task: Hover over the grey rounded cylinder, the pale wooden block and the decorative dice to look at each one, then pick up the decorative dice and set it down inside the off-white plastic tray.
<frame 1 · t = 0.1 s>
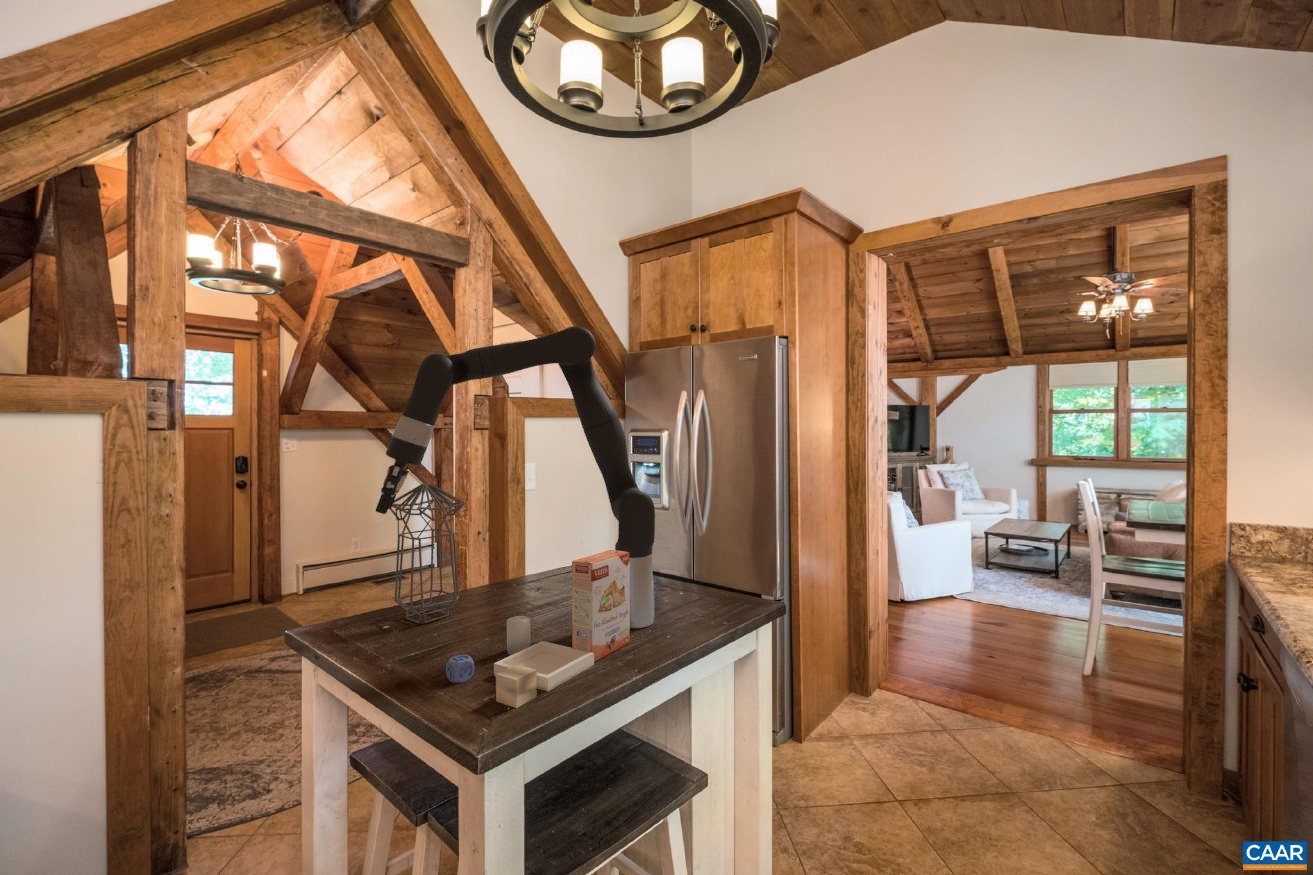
hand: (383, 510, 127), 31 cm above the table, tool tilted 20°, fingers open, 8 cm apart
grey rounded cylinder: (518, 651, 128), on the table
tray: (545, 670, 118), on the table
wooden block: (516, 699, 105), on the table
decorative dice: (460, 679, 114), on the table
cracker box: (602, 651, 128), on the table
geometric lantern: (428, 617, 153), on the table
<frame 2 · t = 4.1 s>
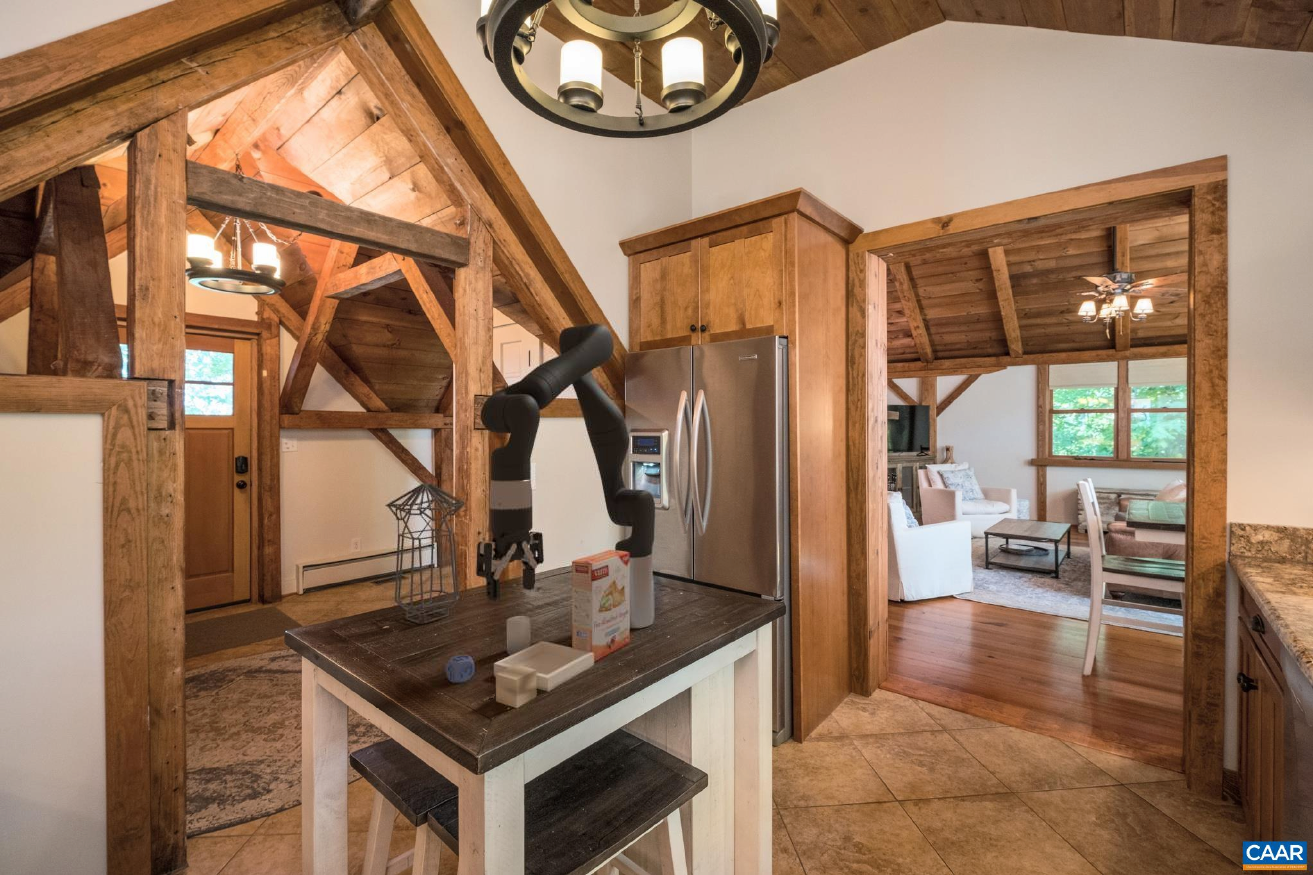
hand: (511, 594, 106), 19 cm above the table, tool pointing down, fingers open, 8 cm apart
nothing on the table moved.
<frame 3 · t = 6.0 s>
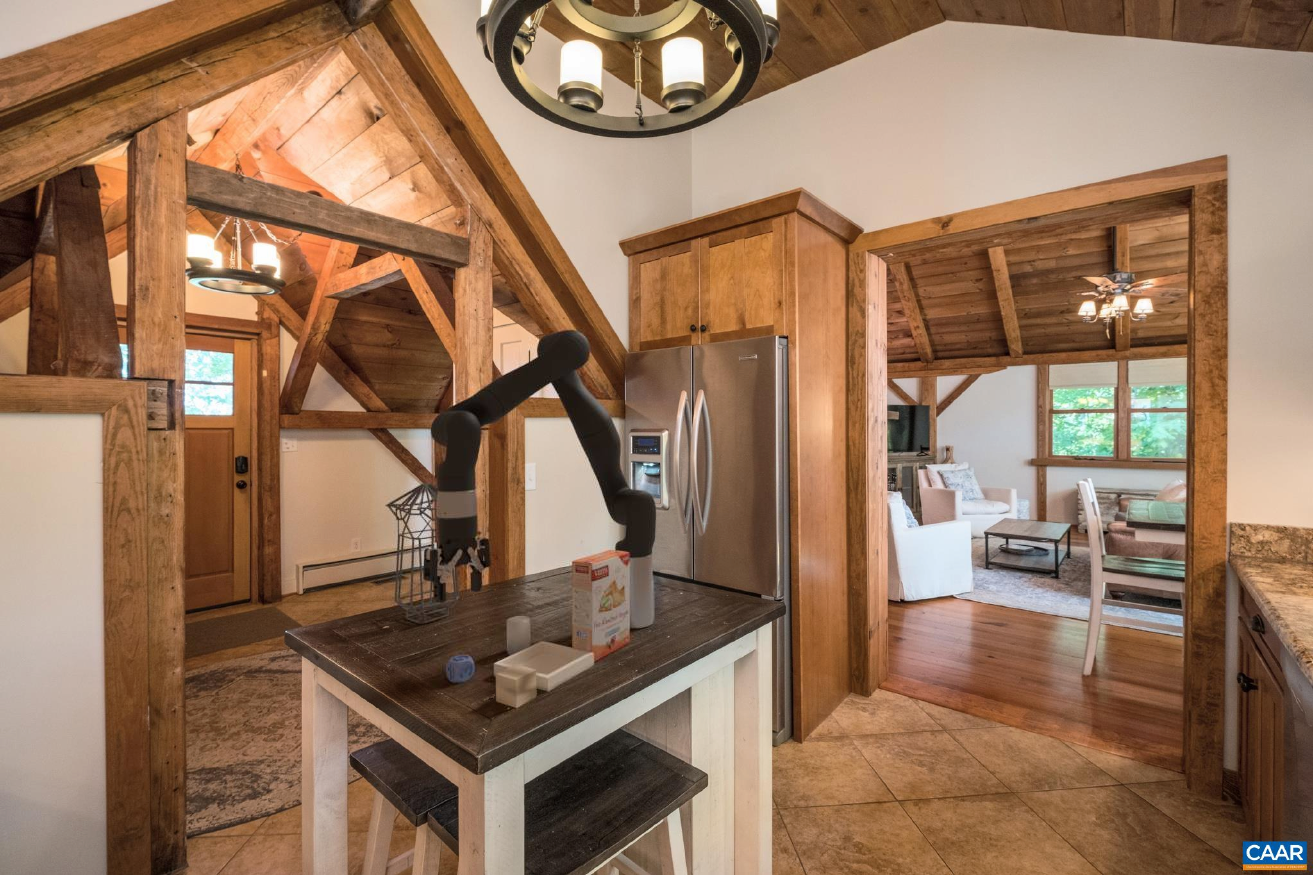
hand: (458, 596, 114), 16 cm above the table, tool pointing down, fingers open, 8 cm apart
nothing on the table moved.
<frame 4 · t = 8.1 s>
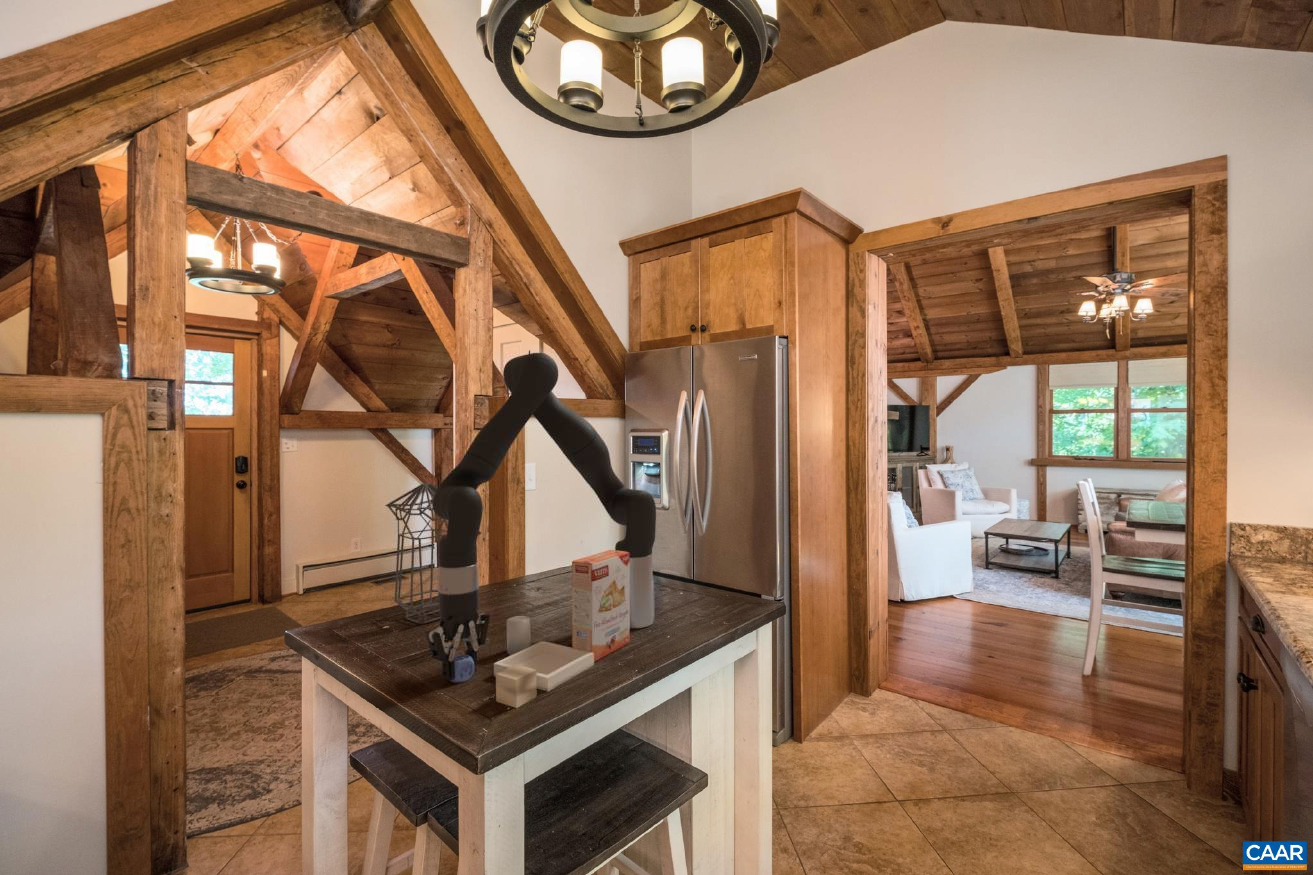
hand: (460, 673, 114), 1 cm above the table, tool pointing down, fingers closed on decorative dice, 4 cm apart
decorative dice: (460, 679, 114), on the table, touching gripper
everything else where it was.
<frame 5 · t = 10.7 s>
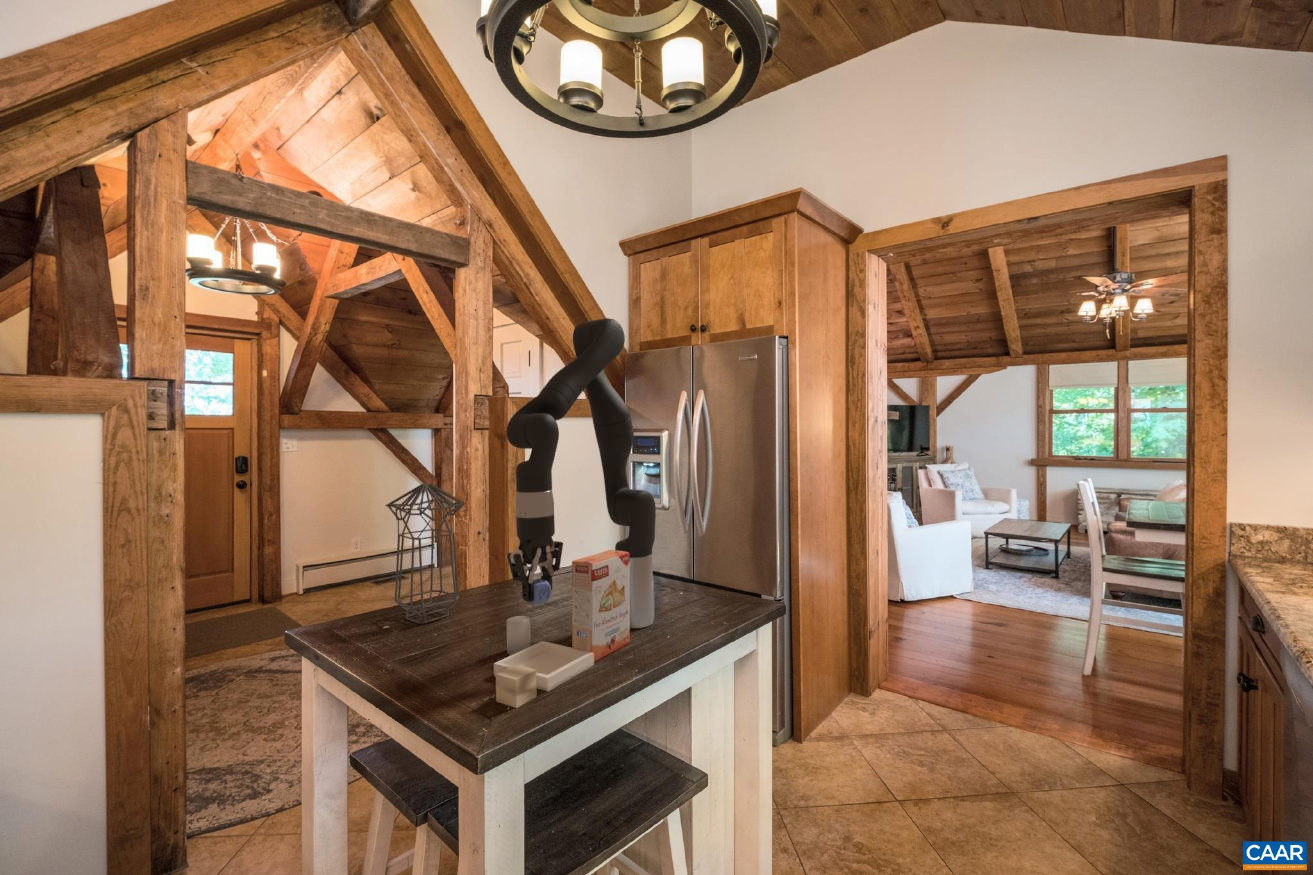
hand: (537, 597, 118), 15 cm above the table, tool pointing down, fingers closed on decorative dice, 4 cm apart
decorative dice: (537, 602, 118), point 14 cm above the table, touching gripper
everything else where it was.
when the fingers open (3 cm above the table, at t = 13.1 s): decorative dice drops 2 cm, resting on tray.
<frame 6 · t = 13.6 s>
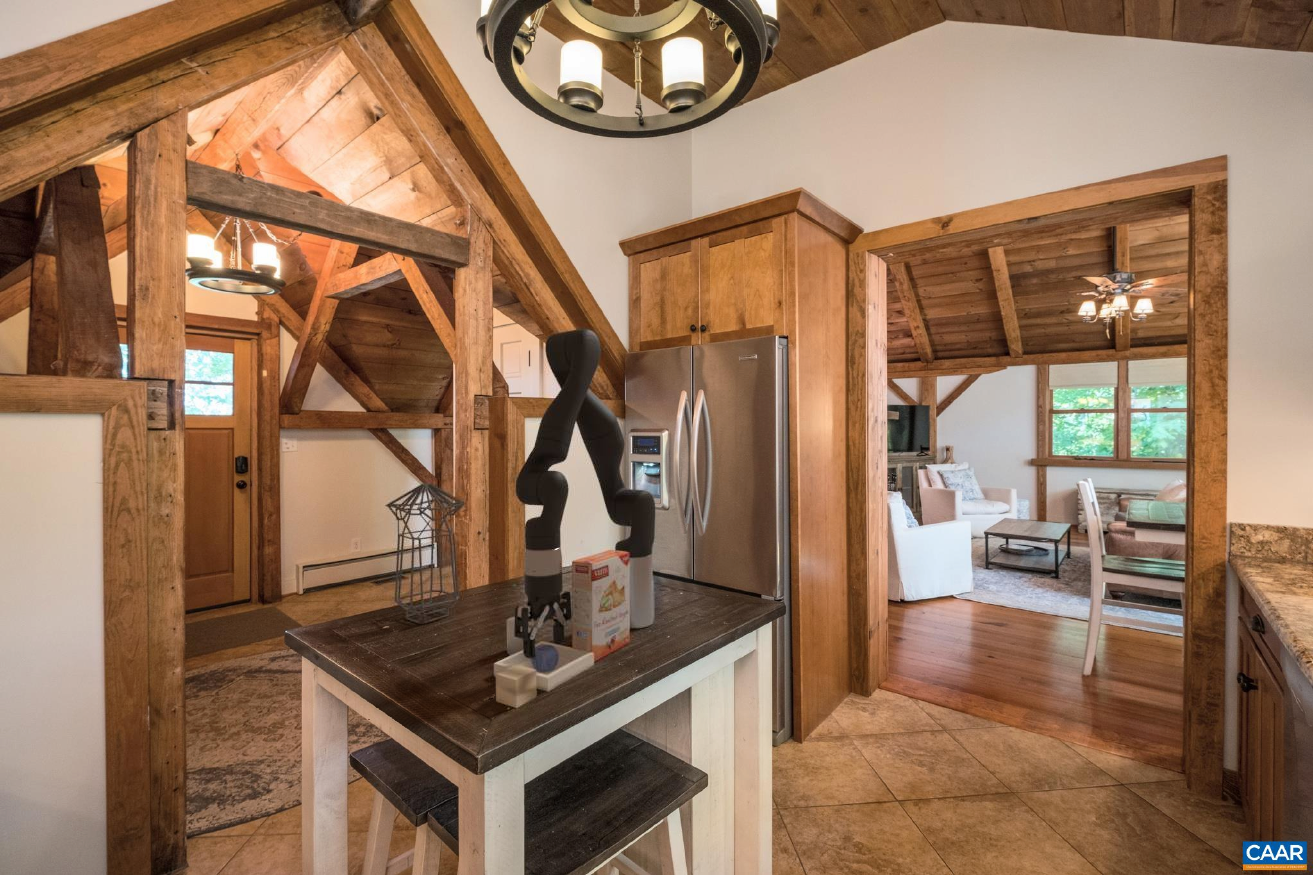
hand: (544, 650, 118), 4 cm above the table, tool pointing down, fingers open, 8 cm apart
decorative dice: (545, 668, 118), resting on tray
everything else where it was.
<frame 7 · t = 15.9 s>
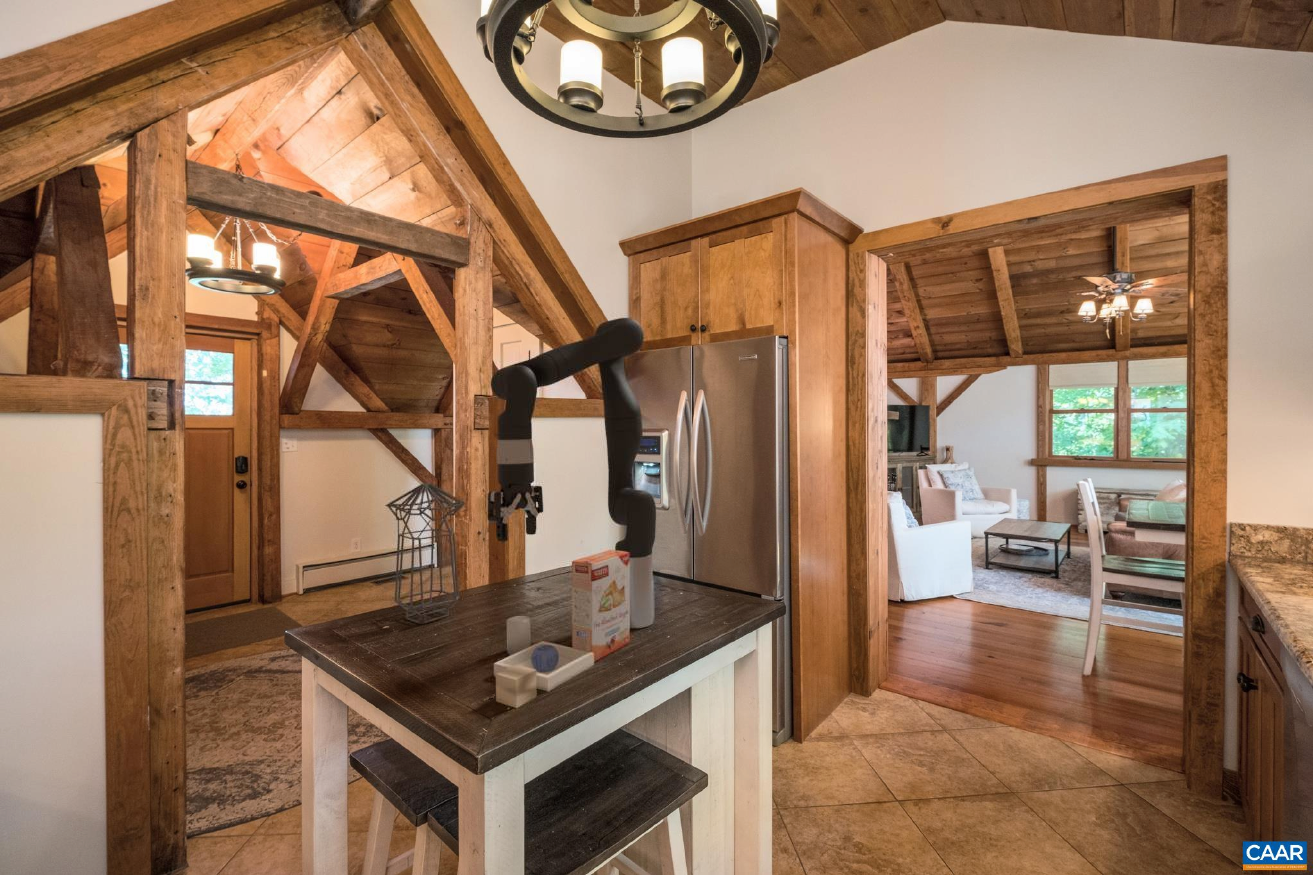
hand: (517, 537, 124), 26 cm above the table, tool pointing down, fingers open, 8 cm apart
nothing on the table moved.
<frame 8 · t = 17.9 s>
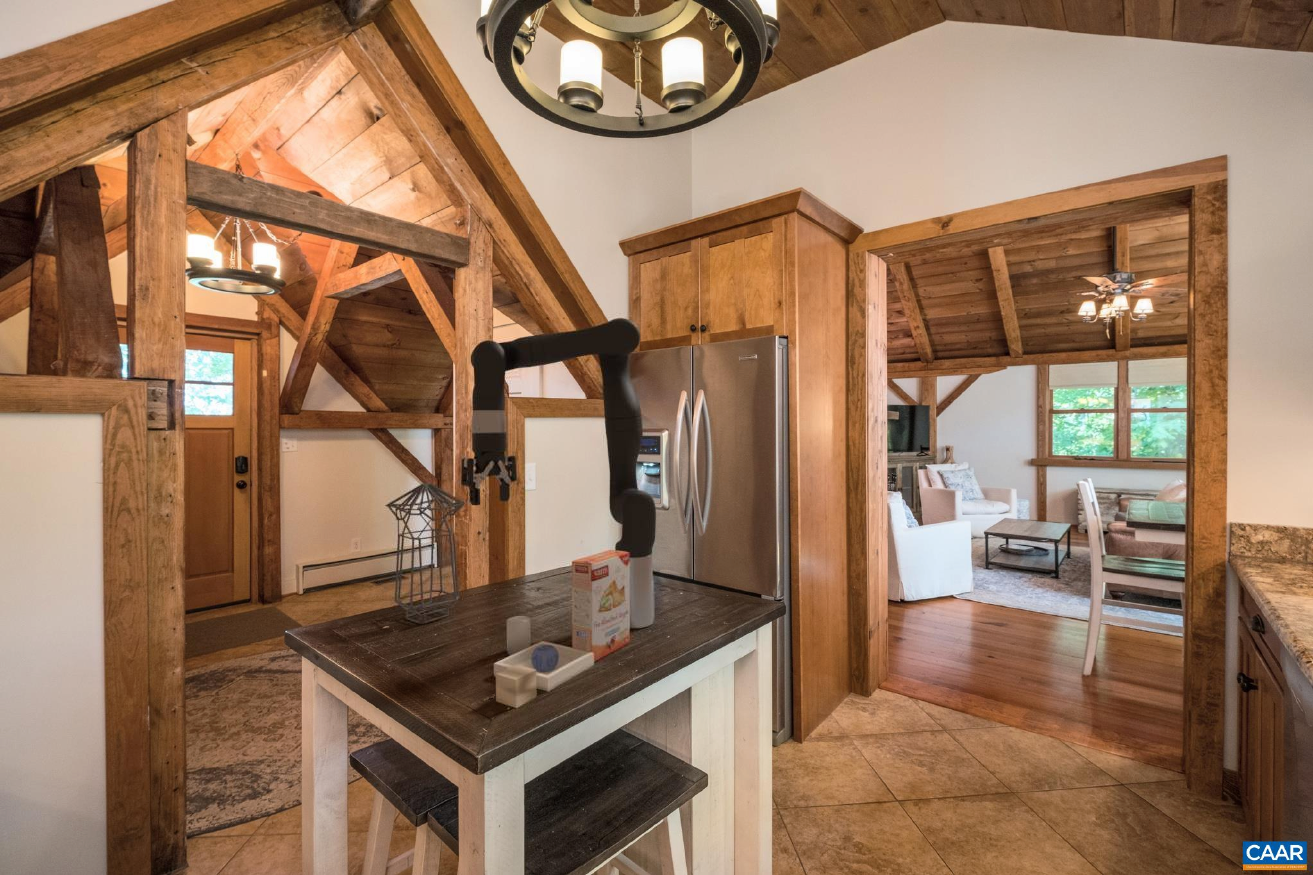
hand: (490, 503, 132), 32 cm above the table, tool pointing down, fingers open, 8 cm apart
nothing on the table moved.
at the end: decorative dice inside the target area on the tray (0.0 cm from its centre), point 0.3 cm above the tray's base; the gripper is holding nothing; wooden block moved 0.1 cm from its start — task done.
